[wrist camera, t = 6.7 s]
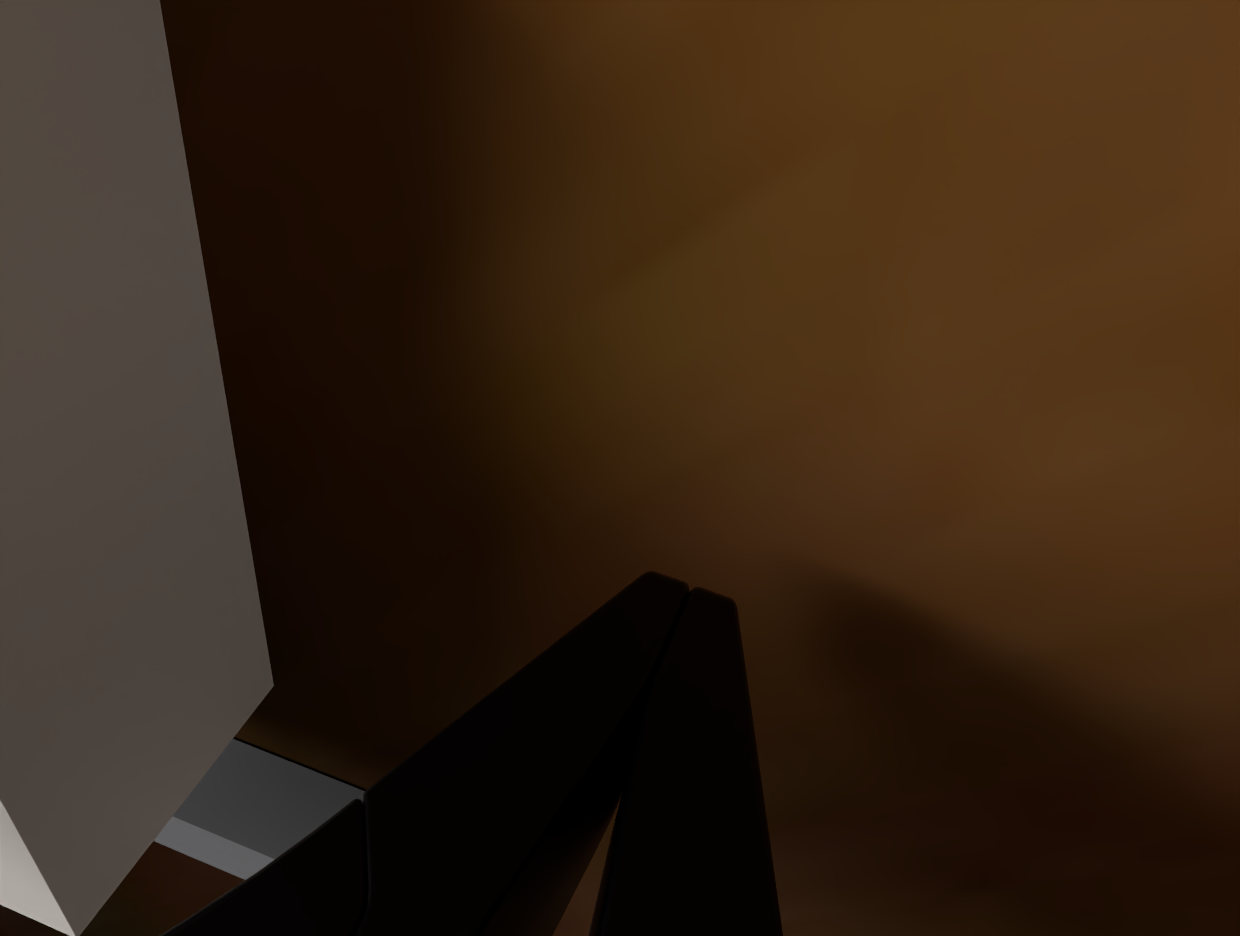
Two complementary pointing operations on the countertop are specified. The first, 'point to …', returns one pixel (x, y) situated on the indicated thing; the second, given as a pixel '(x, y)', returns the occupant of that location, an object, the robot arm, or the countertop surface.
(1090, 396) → the countertop surface
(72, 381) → the t block
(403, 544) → the countertop surface
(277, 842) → the grey rectangular rod frame
